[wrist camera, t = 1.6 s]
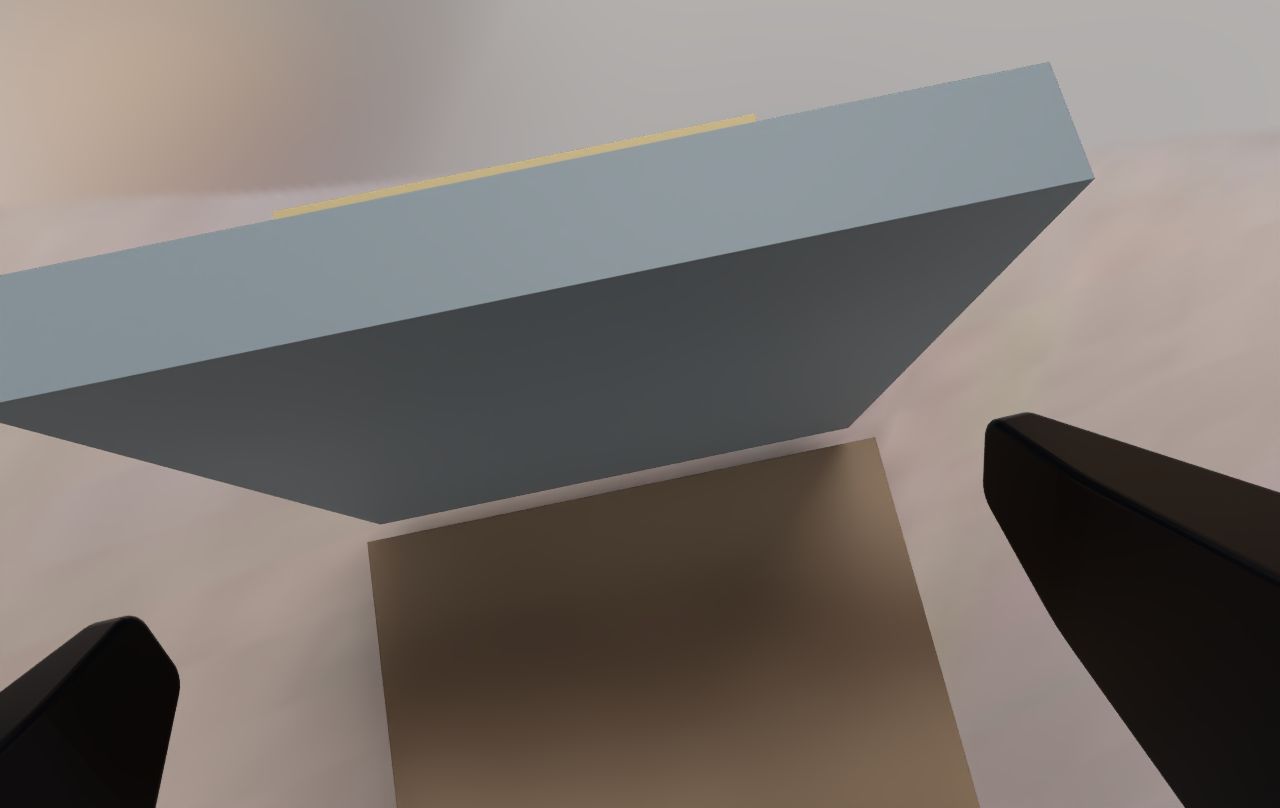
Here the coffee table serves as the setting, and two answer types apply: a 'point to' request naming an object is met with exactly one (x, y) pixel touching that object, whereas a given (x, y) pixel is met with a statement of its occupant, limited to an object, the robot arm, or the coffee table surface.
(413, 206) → the panel
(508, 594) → the block
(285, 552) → the coffee table surface
